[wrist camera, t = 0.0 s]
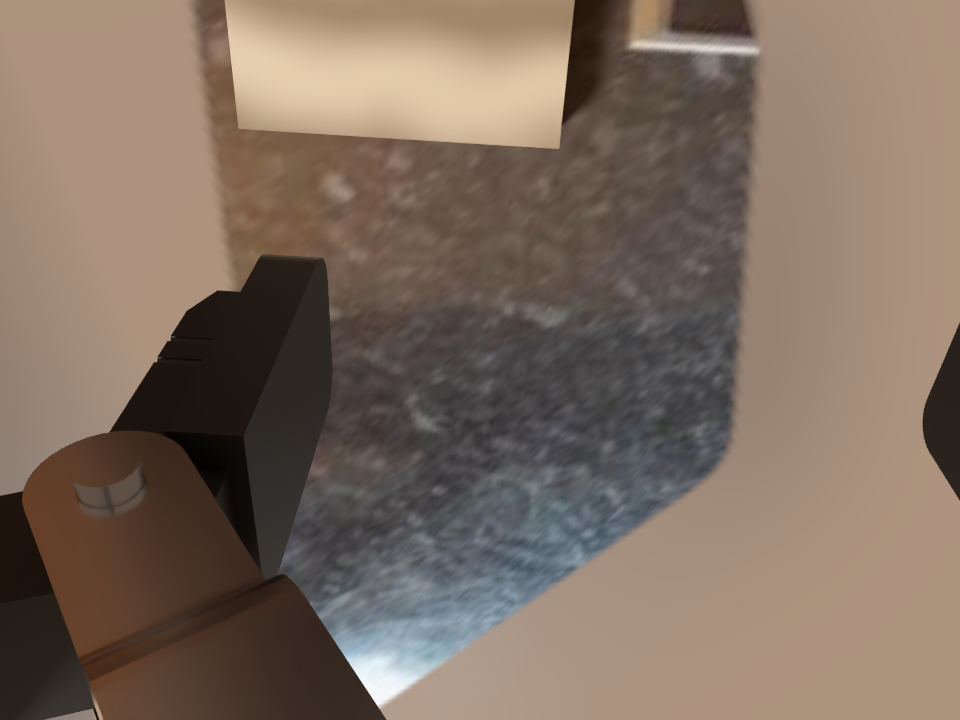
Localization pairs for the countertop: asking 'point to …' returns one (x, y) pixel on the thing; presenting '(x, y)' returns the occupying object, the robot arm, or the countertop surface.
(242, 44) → the notched board
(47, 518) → the robot arm
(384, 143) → the countertop surface
